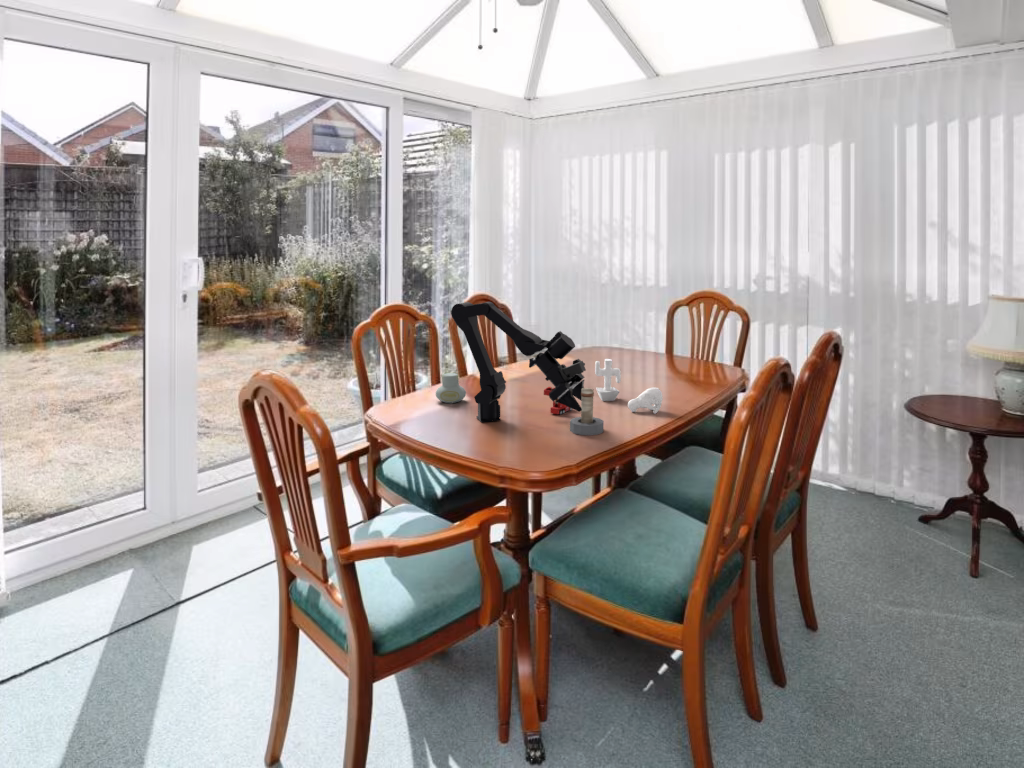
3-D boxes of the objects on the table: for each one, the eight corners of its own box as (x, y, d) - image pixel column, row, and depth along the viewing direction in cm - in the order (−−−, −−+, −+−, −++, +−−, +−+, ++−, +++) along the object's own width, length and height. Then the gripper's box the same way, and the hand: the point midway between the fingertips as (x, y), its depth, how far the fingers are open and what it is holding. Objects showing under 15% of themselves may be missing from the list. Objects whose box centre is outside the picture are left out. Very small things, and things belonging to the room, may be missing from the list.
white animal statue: (663, 389, 214) (629, 392, 214) (664, 413, 216) (630, 416, 216) (658, 385, 220) (625, 388, 220) (660, 408, 222) (626, 412, 222)
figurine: (622, 401, 233) (623, 360, 230) (596, 402, 232) (597, 361, 229) (617, 396, 240) (618, 357, 237) (592, 397, 239) (593, 357, 236)
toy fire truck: (574, 409, 222) (575, 382, 220) (551, 418, 212) (551, 389, 209) (566, 408, 224) (566, 381, 222) (543, 416, 214) (543, 388, 212)
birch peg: (587, 433, 195) (588, 391, 192) (577, 430, 197) (578, 389, 195) (595, 430, 197) (596, 389, 194) (586, 427, 200) (586, 387, 197)
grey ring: (578, 436, 191) (578, 426, 191) (565, 427, 200) (565, 418, 200) (608, 433, 194) (609, 423, 194) (594, 424, 204) (594, 415, 203)
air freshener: (434, 404, 230) (433, 376, 228) (437, 398, 238) (436, 372, 236) (465, 404, 230) (464, 376, 228) (466, 398, 238) (466, 372, 236)
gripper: (560, 356, 186) (595, 397, 184) (578, 347, 203) (611, 384, 201) (534, 381, 191) (569, 421, 189) (554, 369, 207) (586, 406, 206)
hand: (585, 407), depth 196 cm, fingers open, 9 cm apart
